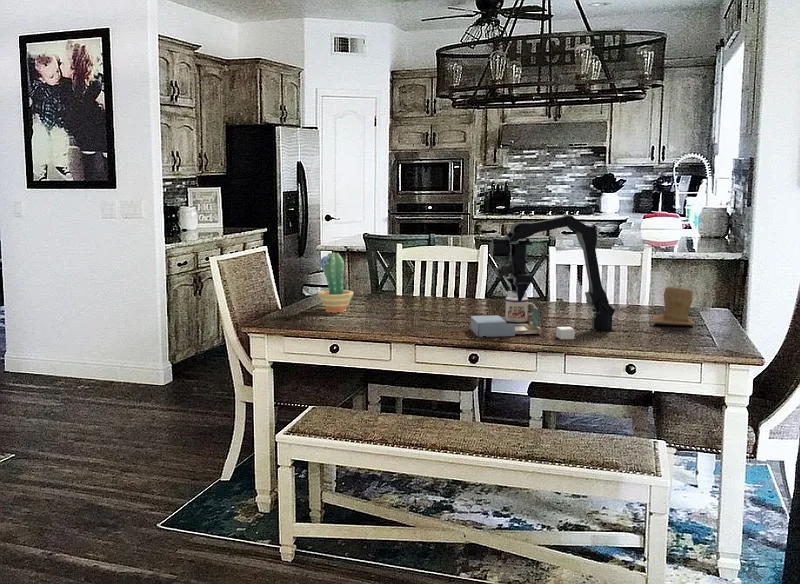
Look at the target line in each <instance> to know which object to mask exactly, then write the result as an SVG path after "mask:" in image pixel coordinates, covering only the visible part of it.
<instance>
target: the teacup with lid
mask: <svg viewBox="0 0 800 584" xmlns="http://www.w3.org/2000/svg"><path fill="white" fill-rule="evenodd" d="M504 300H505V317H506V322H509V323H525V322H527V321H528V316H533V310H532V311H531V312H528V310H529V309H528V306H529V305H531V306H532V307H536V305H535V304H534V303H533V302H529V298H528V297H523V298H522V300H521V301H518V298H513V297H509V296H506V297H505V299H504Z"/></svg>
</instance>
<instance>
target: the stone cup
mask: <svg viewBox="0 0 800 584" xmlns="http://www.w3.org/2000/svg"><path fill="white" fill-rule="evenodd" d="M693 296H694V295H693V291H692V289H690V288H683V287H676V286H668V285H667V286H666V287H665V290H664V293H663V301H664V302H663V303H664V313H662V314H657V315H656V314H655V315H654V316H653V317H652V324H654V325H662V326H663V325H664V326H693V325H694V323H695V322H694V320H692V319H691V318H689V314H688V313H689V310H690V308H691V306H692V302H693Z"/></svg>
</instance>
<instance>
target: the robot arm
mask: <svg viewBox="0 0 800 584" xmlns="http://www.w3.org/2000/svg"><path fill="white" fill-rule="evenodd" d="M565 227H566V228H568V229H569V230H570V231H571V232H572V233H574V234H575V236H576V238H577V241H578V243H579V245H580V248H581V250H582V251H583V257H584V263H585V269H586V275H587V282H588V291H585V292H584V294H585V299H586V301H585V303H587V305H588V306H589V308H591V309H592V312H593V315H592V316H593V317H592V318H591V329H592V330H594V331H595V332H614V329H613V316H614V313H615V311H616V310H615V309H614V308H613V306H611V305H610V303H609V299H608V296H607V293H606V291H605V289H604V288H603V285H602V281H601V275H600V269H599V262H598V257H597V251H596V248H597V244H598V231H597V228H595V227H593V226H591V225H586V224H584V222H582V221H580V220H578V219H577V218H575V216H573V215H570V214H564V215H562V216H557V217H554V218H549V219H544V220H538V221H534V222H533V221H531V222H530V221H523V222H522V221H521V222H514V223H513V224H511V226H510V228H509V232H508V233H507V235H506V236H505V238H494V237H493V238H491V242H490V246H489V255H490V258H507V257H508V256H510V259H508V261H507V262H508V263H506V264H502V265H499V266H497V267H495V268H494V272H495V275H496V277H497V278H503V277H504V278H505V280H506V281H508V283H509V284H510V291H512V290H517V297H518V301H521V300H522V298H523V296H524V294H525V292H527V290H528V288H529V286H530V285H531V284H532V283H533V282H534V281H533V280H534V279H533V277H532V276H531V274H529V273H528V271H527V264H528V263H529V261H528V260H527V254H528V253H527V249H528V248H527V247H528V246H532V245H534V244H533V242H532V241H531V240H530V238H529V237H531V236H534V235H535V234H538V233H542V232H547V231H550V230H556V229H561V228H565ZM513 298H515V297H513Z"/></svg>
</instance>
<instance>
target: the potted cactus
mask: <svg viewBox="0 0 800 584" xmlns="http://www.w3.org/2000/svg"><path fill="white" fill-rule="evenodd" d="M318 265H319V270H323V274H324V276H325V279H326V282H327V287H328V289H327V290H322V291H318V292H317V295H318V298H320V299H321V303H322V304H323V307H324V308H325V312H326V313H330V312H332V314H333V313H335V314H337V312H340V313H345V312H347V308H348V306H349V304H350V302H351V300H352V297H354V292H353V291H352V290H348V289H347V290H346V289H344V283H343V280H344V279H343V277H344V273H345V261H344V259H343V257H342V256H341V255H340V253H339V252H328V254H327V255H325V256H323V257H321V258H320V261H319V264H318ZM344 311H345V312H344Z"/></svg>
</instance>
